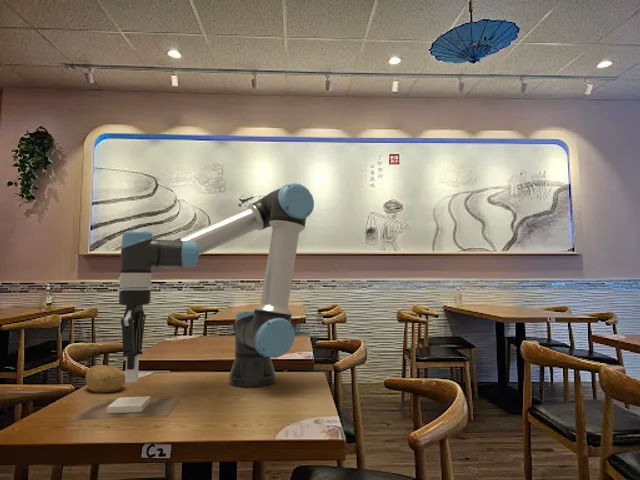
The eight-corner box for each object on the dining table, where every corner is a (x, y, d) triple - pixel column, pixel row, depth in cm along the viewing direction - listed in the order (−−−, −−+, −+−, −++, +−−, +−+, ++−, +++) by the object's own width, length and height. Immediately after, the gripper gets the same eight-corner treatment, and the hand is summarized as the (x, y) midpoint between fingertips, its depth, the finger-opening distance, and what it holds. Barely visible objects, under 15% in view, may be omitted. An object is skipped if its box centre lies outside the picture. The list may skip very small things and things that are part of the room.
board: (181, 400, 113) (181, 396, 113) (167, 420, 97) (167, 415, 97) (97, 404, 110) (97, 399, 110) (69, 425, 94) (69, 419, 94)
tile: (150, 396, 108) (141, 405, 100) (150, 402, 107) (141, 412, 99) (118, 397, 106) (106, 407, 99) (118, 404, 106) (106, 414, 98)
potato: (102, 401, 113) (103, 372, 114) (76, 394, 120) (77, 366, 121) (134, 393, 121) (135, 365, 122) (108, 386, 128) (109, 360, 129)
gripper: (128, 288, 113) (124, 376, 110) (110, 290, 100) (106, 388, 97) (156, 288, 114) (153, 375, 111) (142, 289, 101) (139, 387, 98)
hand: (131, 381), depth 104 cm, fingers closed
